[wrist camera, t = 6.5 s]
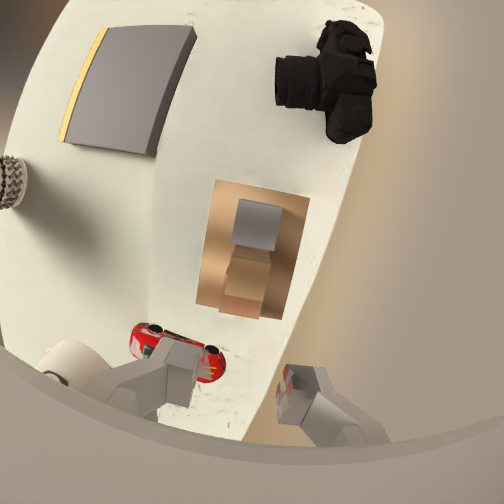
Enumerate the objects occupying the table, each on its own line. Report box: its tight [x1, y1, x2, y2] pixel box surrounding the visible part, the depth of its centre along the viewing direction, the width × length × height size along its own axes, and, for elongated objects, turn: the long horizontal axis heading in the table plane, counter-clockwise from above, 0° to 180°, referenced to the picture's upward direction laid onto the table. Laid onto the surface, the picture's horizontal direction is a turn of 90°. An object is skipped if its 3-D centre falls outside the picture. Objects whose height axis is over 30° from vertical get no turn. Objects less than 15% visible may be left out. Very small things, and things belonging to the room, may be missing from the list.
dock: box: [57, 25, 197, 157], centre depth 26 cm, size 17×14×3 cm
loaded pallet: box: [196, 180, 310, 320], centre depth 26 cm, size 14×10×12 cm
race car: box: [130, 323, 226, 383], centre depth 32 cm, size 13×5×4 cm, turn 70°
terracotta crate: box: [219, 263, 263, 320], centre depth 28 cm, size 4×4×4 cm
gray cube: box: [231, 199, 283, 251], centre depth 26 cm, size 4×4×4 cm
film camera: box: [275, 20, 377, 144], centre depth 23 cm, size 15×10×9 cm, turn 0°
